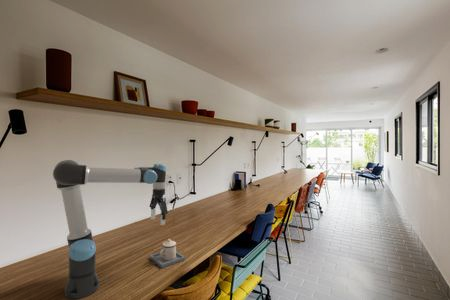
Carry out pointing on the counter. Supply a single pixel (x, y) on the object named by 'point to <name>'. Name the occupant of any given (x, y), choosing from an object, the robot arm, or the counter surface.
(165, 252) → the teacup with lid
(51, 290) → the counter surface
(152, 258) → the cup tray
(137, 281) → the counter surface
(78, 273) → the robot arm
